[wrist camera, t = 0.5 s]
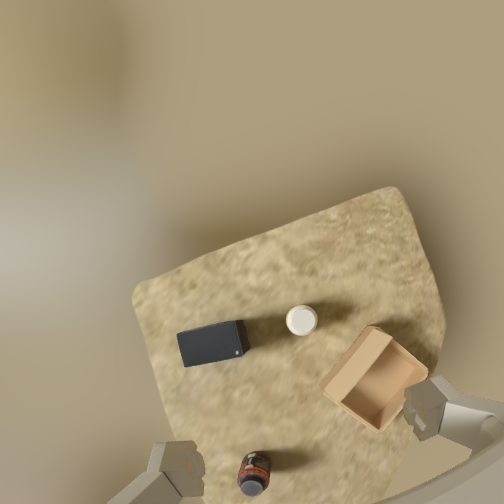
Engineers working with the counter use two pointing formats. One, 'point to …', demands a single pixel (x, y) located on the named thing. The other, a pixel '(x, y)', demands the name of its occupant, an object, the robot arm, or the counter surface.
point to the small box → (213, 343)
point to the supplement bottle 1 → (254, 474)
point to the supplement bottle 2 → (301, 320)
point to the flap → (357, 365)
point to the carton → (378, 383)
